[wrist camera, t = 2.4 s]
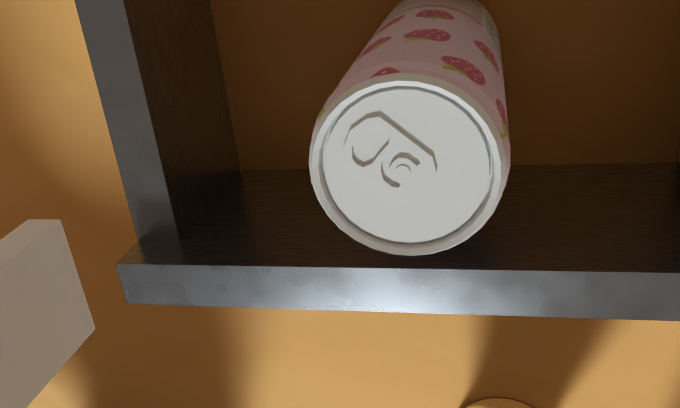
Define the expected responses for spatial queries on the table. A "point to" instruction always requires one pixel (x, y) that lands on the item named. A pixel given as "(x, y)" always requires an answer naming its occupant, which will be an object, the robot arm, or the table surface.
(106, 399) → the table surface
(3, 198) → the table surface
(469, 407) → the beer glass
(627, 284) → the tray
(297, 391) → the table surface
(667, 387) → the table surface
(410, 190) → the beverage can
